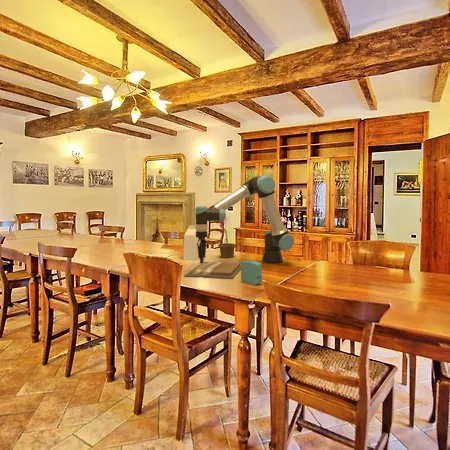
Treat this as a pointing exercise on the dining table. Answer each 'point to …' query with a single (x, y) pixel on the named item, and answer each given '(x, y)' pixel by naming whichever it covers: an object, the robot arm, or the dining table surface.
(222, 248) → the flowerpot
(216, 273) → the floor frame
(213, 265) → the plank
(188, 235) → the milk
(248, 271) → the data package
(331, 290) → the dining table surface
